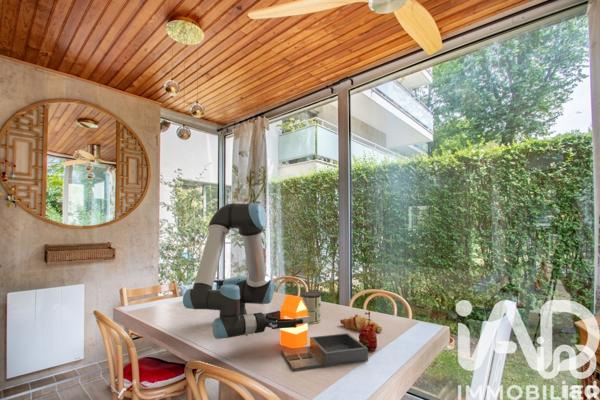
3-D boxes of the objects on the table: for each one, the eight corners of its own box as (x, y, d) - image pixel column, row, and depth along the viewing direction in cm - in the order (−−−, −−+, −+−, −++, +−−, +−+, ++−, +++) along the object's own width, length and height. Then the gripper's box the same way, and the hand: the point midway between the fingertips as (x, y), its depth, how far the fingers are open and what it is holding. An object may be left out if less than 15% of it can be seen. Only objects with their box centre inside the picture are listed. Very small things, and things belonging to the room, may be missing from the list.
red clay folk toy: (355, 348, 125) (355, 310, 127) (364, 343, 131) (363, 307, 132) (372, 353, 121) (371, 314, 122) (380, 348, 126) (379, 310, 127)
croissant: (383, 338, 147) (385, 321, 150) (379, 334, 139) (381, 316, 143) (342, 330, 157) (344, 314, 161) (335, 325, 149) (338, 309, 153)
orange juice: (292, 339, 136) (292, 293, 137) (307, 344, 130) (307, 295, 132) (279, 344, 130) (280, 296, 131) (295, 349, 124) (296, 299, 126)
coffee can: (302, 317, 168) (302, 291, 170) (321, 318, 167) (321, 291, 169) (300, 323, 158) (300, 295, 159) (320, 324, 157) (320, 295, 158)
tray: (293, 371, 105) (293, 357, 106) (281, 352, 122) (281, 340, 122) (368, 360, 114) (367, 348, 114) (347, 344, 130) (347, 333, 130)
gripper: (244, 325, 132) (291, 318, 142) (263, 342, 112) (315, 333, 122) (245, 307, 133) (291, 301, 143) (263, 321, 113) (315, 313, 123)
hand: (302, 316), depth 133 cm, fingers closed on orange juice, 10 cm apart
